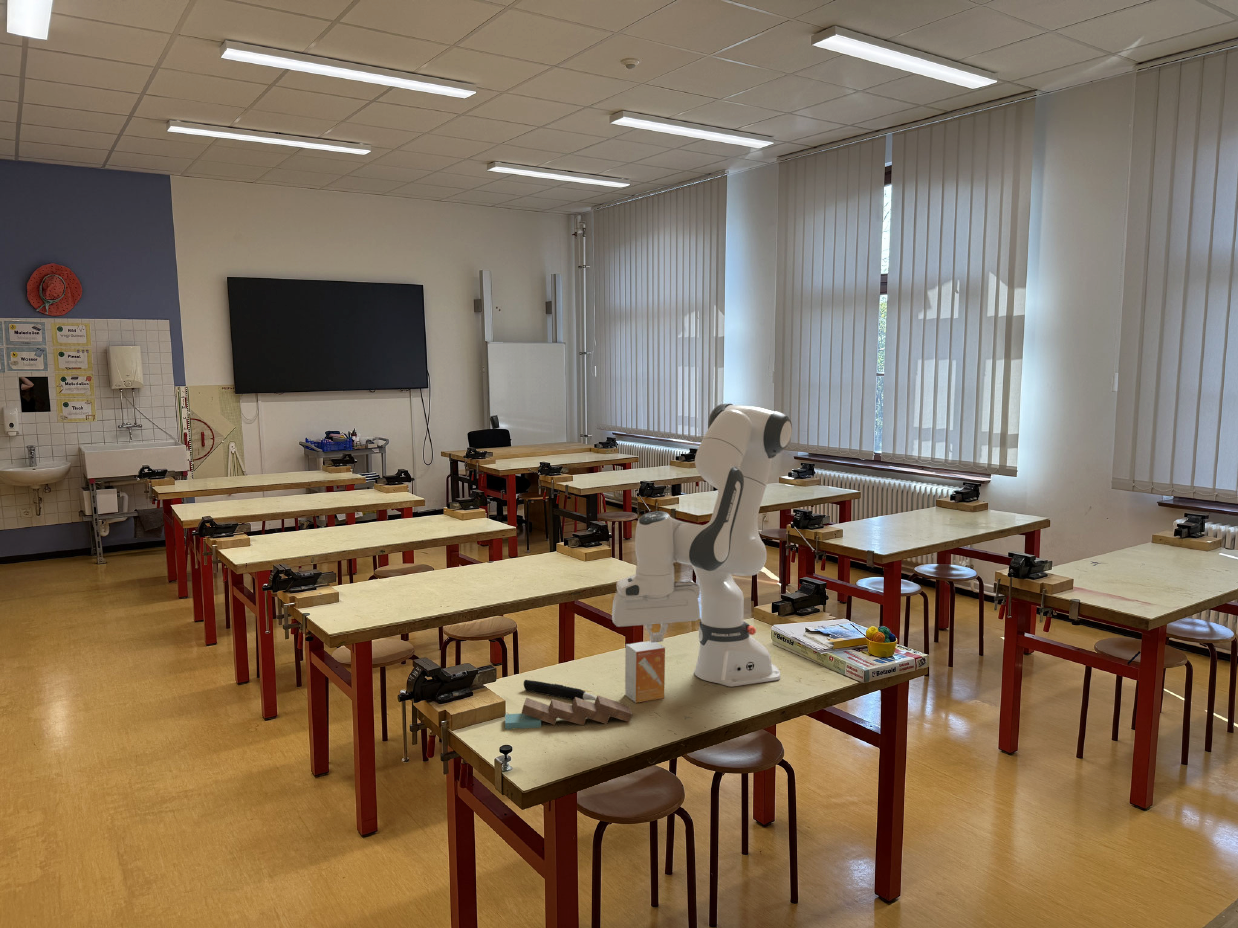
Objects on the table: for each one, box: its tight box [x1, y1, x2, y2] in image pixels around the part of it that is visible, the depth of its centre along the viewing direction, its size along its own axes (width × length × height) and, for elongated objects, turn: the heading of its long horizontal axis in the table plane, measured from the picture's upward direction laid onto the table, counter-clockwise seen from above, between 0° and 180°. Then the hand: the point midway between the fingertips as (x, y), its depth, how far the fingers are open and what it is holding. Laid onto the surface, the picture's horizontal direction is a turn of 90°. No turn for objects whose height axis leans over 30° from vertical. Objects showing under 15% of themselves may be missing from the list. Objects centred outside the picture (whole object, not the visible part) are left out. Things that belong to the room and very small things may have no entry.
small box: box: [624, 640, 666, 704], centre depth 206 cm, size 8×6×13 cm
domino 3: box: [548, 698, 587, 726], centre depth 191 cm, size 2×5×8 cm
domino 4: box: [571, 697, 611, 725], centre depth 192 cm, size 2×5×8 cm
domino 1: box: [504, 713, 542, 730], centre depth 190 cm, size 2×5×8 cm
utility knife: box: [523, 679, 597, 702], centre depth 206 cm, size 22×4×3 cm, turn 65°
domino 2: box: [521, 697, 558, 725], centre depth 191 cm, size 2×5×8 cm
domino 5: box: [594, 695, 633, 723], centre depth 193 cm, size 2×5×8 cm
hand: (656, 641), depth 193 cm, fingers closed
